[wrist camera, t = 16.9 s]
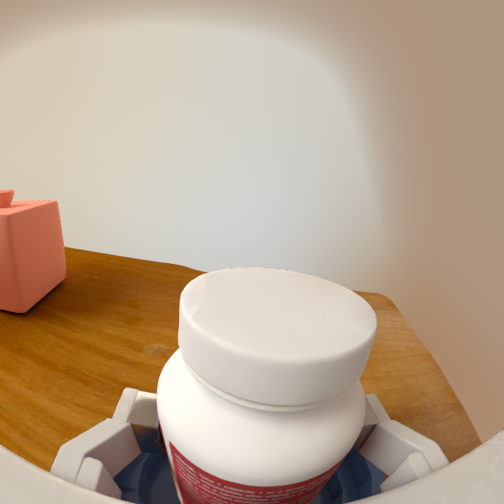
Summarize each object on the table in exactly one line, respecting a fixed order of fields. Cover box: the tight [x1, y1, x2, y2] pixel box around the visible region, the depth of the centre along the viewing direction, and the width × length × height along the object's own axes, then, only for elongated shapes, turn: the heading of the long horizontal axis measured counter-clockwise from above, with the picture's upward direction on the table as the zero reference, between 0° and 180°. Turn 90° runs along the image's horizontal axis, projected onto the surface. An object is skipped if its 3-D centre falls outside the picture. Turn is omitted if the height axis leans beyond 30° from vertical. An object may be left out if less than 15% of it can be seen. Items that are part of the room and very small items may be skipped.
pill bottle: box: [157, 267, 377, 504], centre depth 8 cm, size 6×6×11 cm
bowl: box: [112, 449, 384, 504], centre depth 9 cm, size 13×14×4 cm
